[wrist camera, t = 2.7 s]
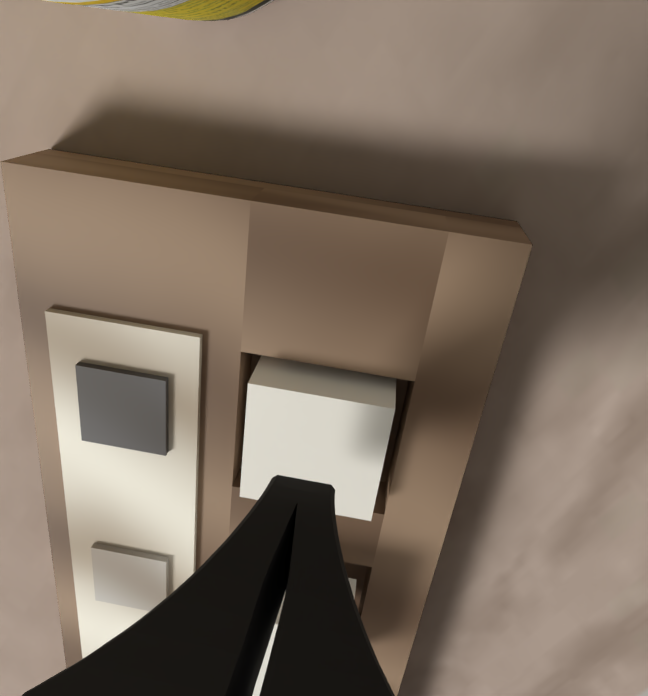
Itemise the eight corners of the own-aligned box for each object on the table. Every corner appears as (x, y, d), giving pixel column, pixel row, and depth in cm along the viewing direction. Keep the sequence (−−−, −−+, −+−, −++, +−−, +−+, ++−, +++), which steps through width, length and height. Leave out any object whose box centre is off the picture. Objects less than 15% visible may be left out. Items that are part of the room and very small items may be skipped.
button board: (361, 773, 26) (357, 837, 24) (101, 718, 26) (74, 776, 24) (517, 221, 14) (536, 250, 12) (49, 149, 15) (-11, 164, 13)
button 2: (375, 473, 17) (371, 521, 15) (256, 451, 17) (239, 496, 16) (396, 369, 16) (395, 409, 14) (265, 346, 16) (247, 383, 14)
